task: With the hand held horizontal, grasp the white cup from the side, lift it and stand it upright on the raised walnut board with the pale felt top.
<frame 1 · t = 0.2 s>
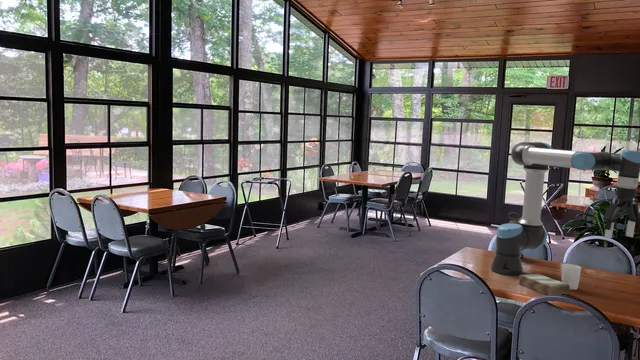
hand: (618, 237, 218), 27 cm above the table, tool pointing down, fingers open, 13 cm apart
white cup: (569, 287, 236), on the table
board: (543, 288, 232), on the table
tabletop clock: (510, 256, 291), on the table
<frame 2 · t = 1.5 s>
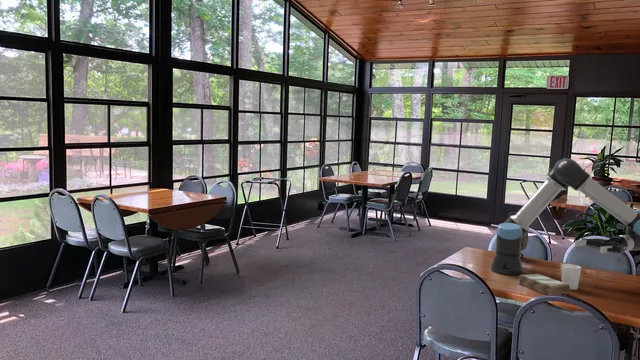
hand: (587, 246, 238), 18 cm above the table, tool horizontal, fingers open, 13 cm apart
nothing on the table moved.
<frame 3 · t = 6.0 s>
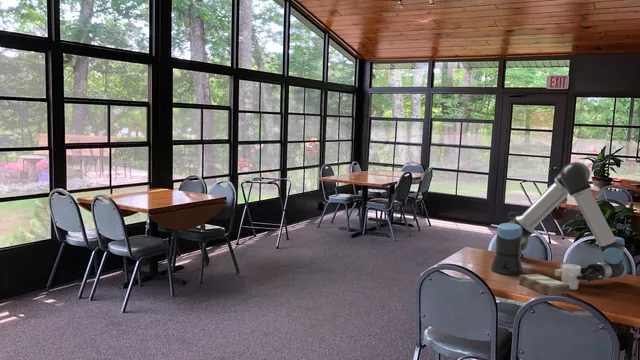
hand: (563, 275, 234), 6 cm above the table, tool horizontal, fingers closed on white cup, 8 cm apart
white cup: (569, 287, 236), on the table, touching gripper
everything else where it was.
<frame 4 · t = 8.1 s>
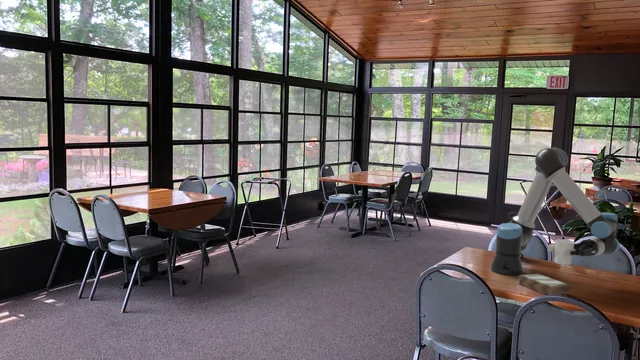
hand: (556, 250, 230), 18 cm above the table, tool horizontal, fingers closed on white cup, 8 cm apart
white cup: (562, 263, 232), point 12 cm above the table, touching gripper
everything else where it was.
when the fingers open (11 cm above the table, at t = 10.6 s): white cup drops 1 cm, resting on board.
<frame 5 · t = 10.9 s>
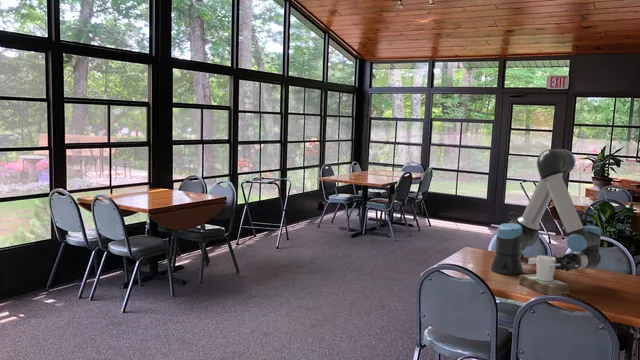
hand: (538, 264, 229), 11 cm above the table, tool horizontal, fingers open, 10 cm apart
white cup: (544, 279, 232), point 4 cm above the table, touching board
everything else where it was.
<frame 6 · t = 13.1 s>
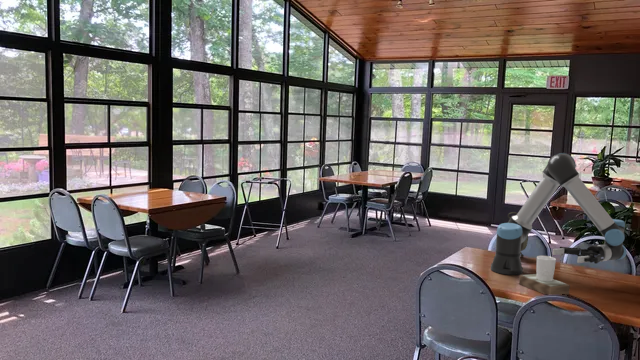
hand: (565, 255, 235), 14 cm above the table, tool horizontal, fingers open, 13 cm apart
nothing on the table moved.
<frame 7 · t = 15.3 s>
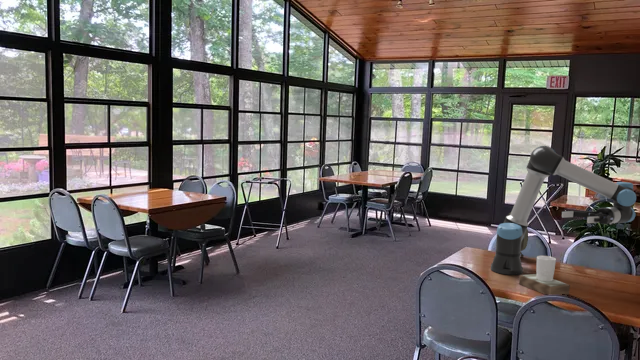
hand: (574, 217, 235), 32 cm above the table, tool horizontal, fingers open, 13 cm apart
nothing on the table moved.
at the end: white cup inside the target area on the board (0.1 cm from its centre), point 4.1 cm above the board's base; white cup tilted 0°; the gripper is holding nothing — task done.
